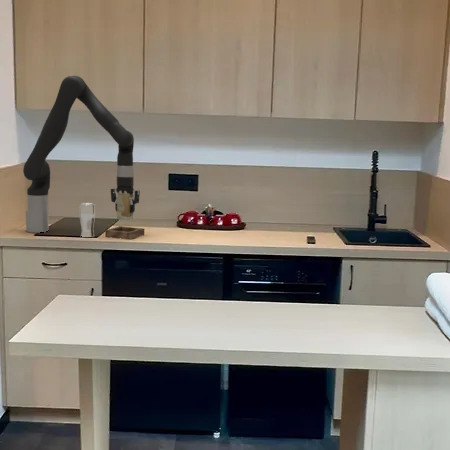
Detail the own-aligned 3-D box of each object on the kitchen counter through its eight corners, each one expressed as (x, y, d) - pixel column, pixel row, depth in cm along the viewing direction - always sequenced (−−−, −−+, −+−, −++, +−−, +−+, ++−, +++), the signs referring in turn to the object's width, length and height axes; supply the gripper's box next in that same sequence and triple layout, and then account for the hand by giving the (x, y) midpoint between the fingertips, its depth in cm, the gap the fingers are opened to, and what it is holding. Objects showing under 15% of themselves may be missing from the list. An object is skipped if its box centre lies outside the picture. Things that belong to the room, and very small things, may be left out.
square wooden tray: (105, 236, 280) (105, 229, 280) (119, 232, 292) (119, 225, 292) (130, 239, 276) (130, 232, 275) (144, 235, 288) (144, 228, 287)
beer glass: (97, 235, 283) (97, 203, 280) (92, 238, 276) (92, 205, 273) (82, 234, 283) (82, 202, 281) (77, 237, 276) (77, 204, 274)
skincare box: (116, 219, 282) (116, 192, 280) (122, 218, 286) (122, 191, 284) (128, 220, 279) (128, 193, 277) (133, 219, 283) (133, 192, 281)
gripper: (106, 175, 278) (106, 212, 281) (135, 177, 273) (135, 214, 276) (115, 174, 285) (115, 210, 288) (143, 175, 280) (143, 212, 283)
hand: (125, 212), depth 282 cm, fingers closed on skincare box, 6 cm apart
